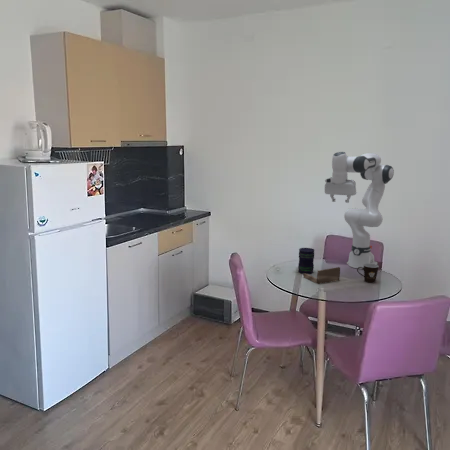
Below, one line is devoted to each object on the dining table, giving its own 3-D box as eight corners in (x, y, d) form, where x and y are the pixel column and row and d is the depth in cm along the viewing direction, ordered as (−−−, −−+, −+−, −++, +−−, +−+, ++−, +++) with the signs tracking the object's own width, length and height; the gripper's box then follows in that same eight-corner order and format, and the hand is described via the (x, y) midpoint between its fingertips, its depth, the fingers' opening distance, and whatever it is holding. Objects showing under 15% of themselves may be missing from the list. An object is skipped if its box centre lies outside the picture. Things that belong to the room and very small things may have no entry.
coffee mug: (378, 280, 273) (380, 264, 271) (375, 284, 266) (376, 268, 264) (359, 277, 279) (361, 261, 277) (355, 281, 272) (356, 265, 270)
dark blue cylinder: (306, 275, 282) (308, 252, 279) (294, 271, 290) (295, 249, 287) (316, 272, 289) (317, 249, 286) (304, 268, 296) (305, 246, 293)
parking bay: (303, 277, 278) (304, 264, 277) (324, 273, 286) (324, 261, 284) (318, 284, 266) (318, 271, 264) (339, 280, 273) (340, 267, 272)
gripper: (358, 179, 263) (358, 202, 266) (328, 178, 278) (329, 200, 281) (352, 180, 259) (352, 204, 262) (322, 179, 274) (323, 201, 277)
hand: (340, 202), depth 272 cm, fingers open, 8 cm apart
